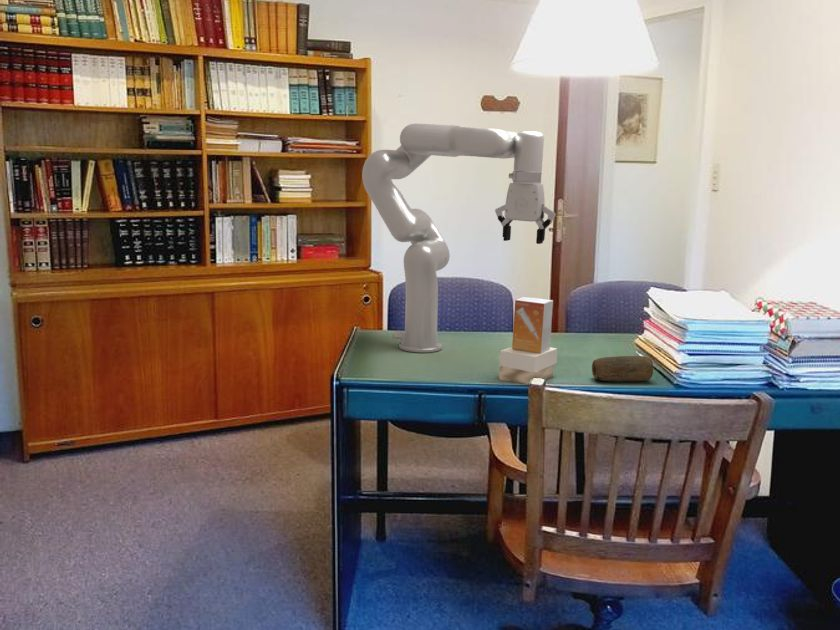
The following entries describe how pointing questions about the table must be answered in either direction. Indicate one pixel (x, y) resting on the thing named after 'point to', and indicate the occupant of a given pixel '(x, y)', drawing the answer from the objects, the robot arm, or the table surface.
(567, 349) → the table surface
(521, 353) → the white flat block
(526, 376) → the tower bottom
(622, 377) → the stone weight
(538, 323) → the small box
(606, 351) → the table surface
